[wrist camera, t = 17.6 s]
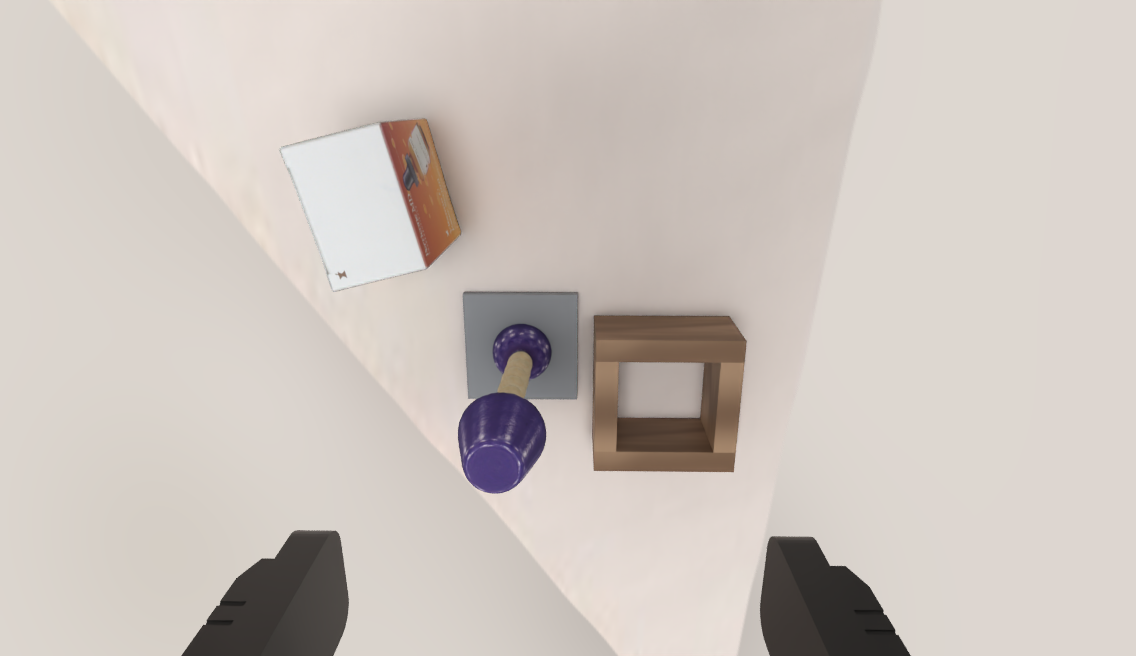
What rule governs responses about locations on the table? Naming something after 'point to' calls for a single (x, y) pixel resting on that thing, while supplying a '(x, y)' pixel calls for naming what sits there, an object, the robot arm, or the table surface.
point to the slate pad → (532, 308)
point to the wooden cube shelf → (668, 438)
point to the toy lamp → (506, 415)
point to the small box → (373, 200)
